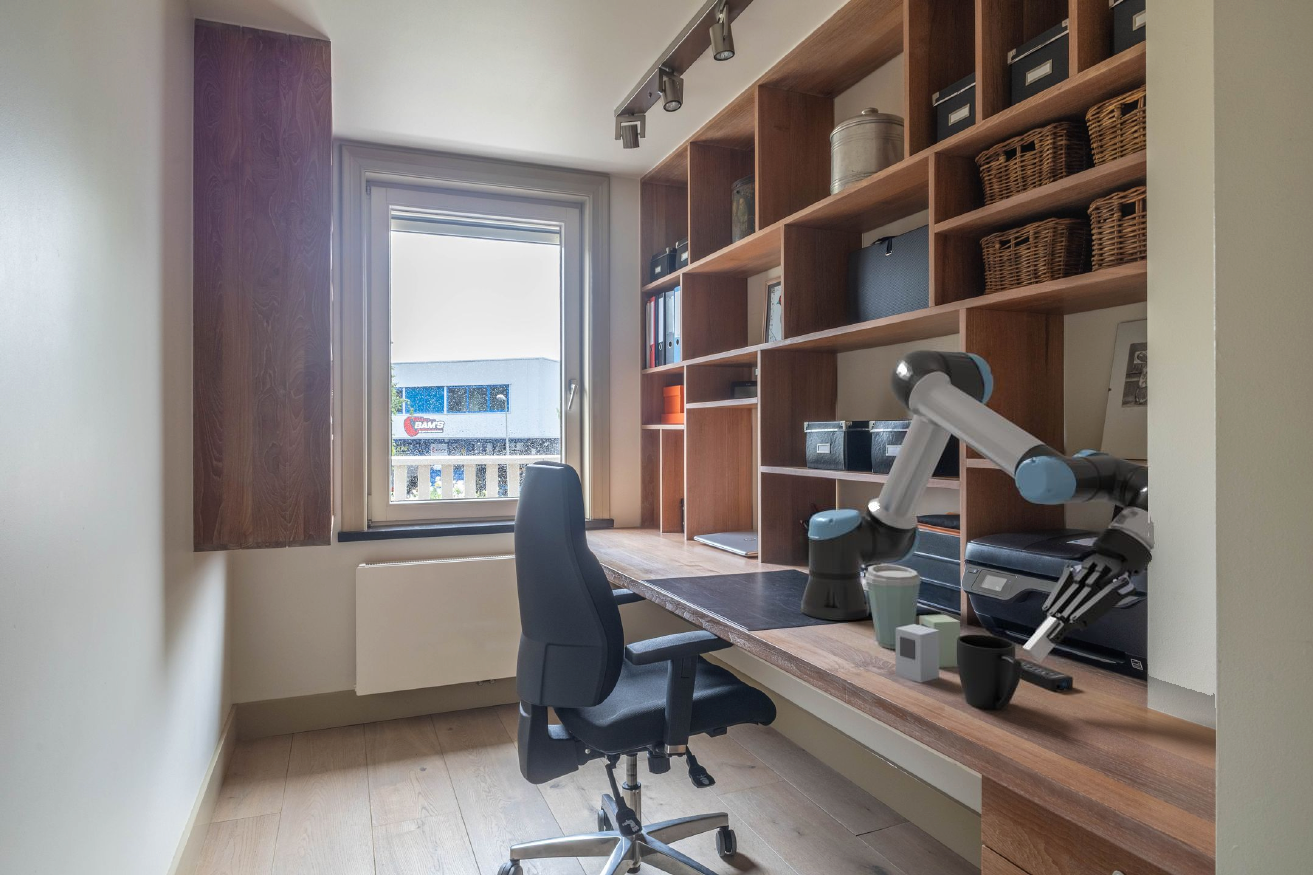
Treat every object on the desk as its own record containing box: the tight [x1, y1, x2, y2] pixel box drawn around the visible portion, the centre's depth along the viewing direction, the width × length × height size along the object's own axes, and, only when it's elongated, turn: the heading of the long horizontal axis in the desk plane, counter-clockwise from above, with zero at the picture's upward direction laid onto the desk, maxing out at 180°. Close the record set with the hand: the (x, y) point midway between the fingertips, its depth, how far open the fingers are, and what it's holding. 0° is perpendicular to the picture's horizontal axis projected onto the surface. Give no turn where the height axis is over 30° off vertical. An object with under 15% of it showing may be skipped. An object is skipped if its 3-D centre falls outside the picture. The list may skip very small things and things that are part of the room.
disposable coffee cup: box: [864, 563, 922, 650], centre depth 143 cm, size 11×11×15 cm
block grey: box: [895, 623, 940, 684], centre depth 125 cm, size 5×5×8 cm
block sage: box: [918, 614, 961, 668], centre depth 132 cm, size 5×5×8 cm
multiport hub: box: [1016, 657, 1074, 693], centre depth 123 cm, size 4×11×2 cm, turn 18°
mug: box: [957, 634, 1022, 711], centre depth 110 cm, size 8×12×10 cm
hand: (1031, 654), depth 111 cm, fingers closed
